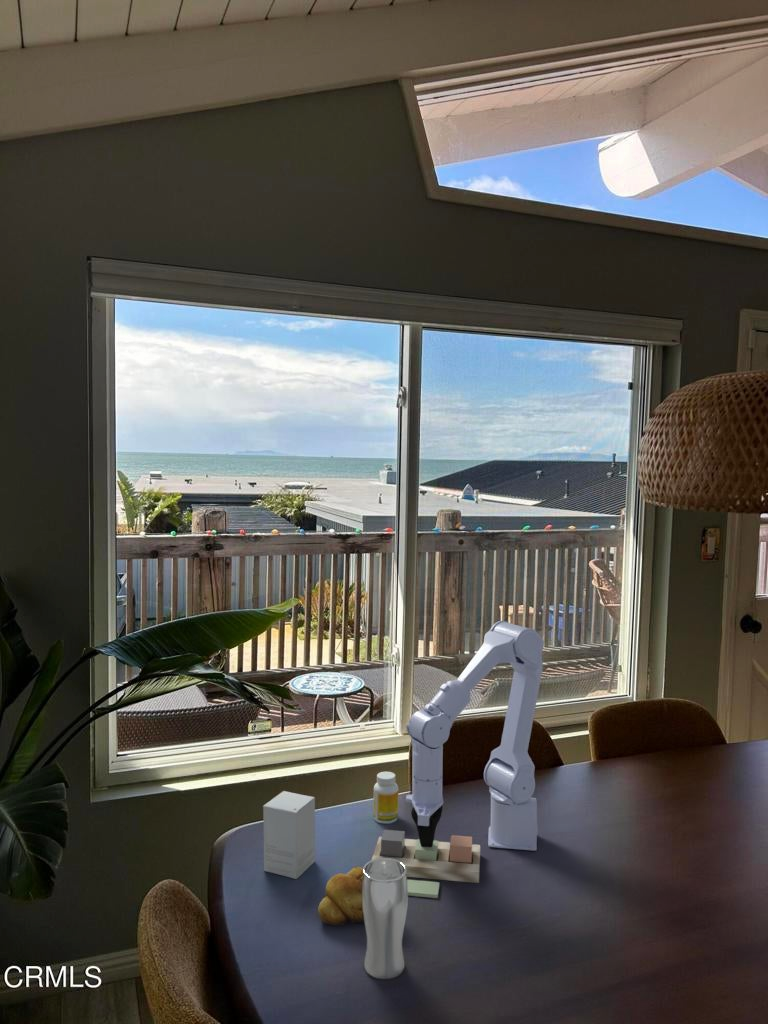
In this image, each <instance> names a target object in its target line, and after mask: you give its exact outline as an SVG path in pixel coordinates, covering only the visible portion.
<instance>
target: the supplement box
mask: <svg viewBox="0 0 768 1024" xmlns="http://www.w3.org/2000/svg"><path fill="white" fill-rule="evenodd" d="M315 801H316V797H314V796H311V795H304V794H300V793H296V792H295V793H294V792H290V791H286V790H283V791H281V792H280V793H279V794H277V795H276V796H274V797H273V798H272V799H270V801H268V802H266V803H265V804H264V805H262V809H263V810H262V811H263V812H262V813H263V818H262V819H263V864H264V865H263V871H264V872H267V873H271V874H276V875H279V876H282V877H286V878H287V877H288V878H290V879H295V880H297V879H298V878H300V877H301V876H302V875H303V873H305V871H307V870H308V869H309V868H310V867H312V865H313V864H314V863H315V862H316V802H315Z"/></svg>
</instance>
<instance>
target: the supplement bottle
mask: <svg viewBox="0 0 768 1024" xmlns="http://www.w3.org/2000/svg"><path fill="white" fill-rule="evenodd" d="M396 780H397V779H396V774H395V772H391V771H381V772H378V773H377V774H376V783H375V784H374V786H373V796H372V797H373V802H372V803H373V805H372V808H373V809H372V811H373V812H372V813H373V820H374V821H375V822H377V823H379V824H387V825H388V824H393V823H395V822H396V821H397V820H398V819H399V785H398V784H397V783H396Z"/></svg>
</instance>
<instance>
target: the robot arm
mask: <svg viewBox="0 0 768 1024" xmlns="http://www.w3.org/2000/svg"><path fill="white" fill-rule="evenodd" d="M483 638H484V639H483V644H482V645H481V646H480V648H479V649H478V650H477V652H476V654H475V655H473V657H472V659H471V660H470V661H469V663H468V664H467V666H466V667H465V668H464V670H463V671H462V672H461V674H460V675H459V676H458V678H457V679H453V680H447V681H446V682H445V683H442V685H440V687H439V691H438V692H437V693H436V694H435V696H434V697H432V699H431V700H430V701H429V702H428V703H426V705H425V706H424V708H423V709H420V710H417V711H416V712H414V713H413V714H412V715H411V717H410V719H409V720H408V724H407V725H406V726H405V727H406V733H407V734H408V735H409V737H410V739H411V746H412V750H411V751H412V756H411V757H412V762H411V763H412V765H411V766H412V769H411V771H412V773H411V774H412V776H411V777H412V779H411V780H412V781H411V785H412V786H411V794H406V796H405V802H406V803H411V804H412V808H411V811H410V812H411V813H410V815H411V817H412V820H413V822H414V823H415V826H416V830H417V833H418V839H419V840H420V844H421V846H422V847H432V845H433V841H434V840H435V834H436V828H437V826H438V824H439V822H440V820H441V817H442V812H443V804H444V797H443V756H444V755H443V754H444V751H443V749H444V746H443V745H444V744H445V743H446V742H447V741H448V739H449V737H450V733H451V732H450V731H451V728H452V727H453V724H454V722H455V720H456V719H457V718H458V717H459V715H461V713H462V712H463V711H464V710H465V708H466V707H467V706H468V705H469V704H470V702H471V701H472V700H471V692H472V691H473V690H474V689H475V687H477V685H478V684H480V683H481V682H482V680H483V679H484V678H485V677H487V675H488V674H489V673H490V672H491V671H492V670H493V669H494V668H495V667H496V666H497V665H499V664H508V663H509V665H510V666H511V668H513V671H514V672H513V676H512V681H511V687H510V691H509V697H508V704H507V707H506V713H505V718H504V724H503V731H502V734H501V739H500V740H501V742H500V745H499V746H498V747H496V748H494V749H493V750H491V752H490V756H489V760H488V761H487V763H486V765H485V767H484V769H483V770H484V771H483V780H484V782H485V784H486V785H487V786H488V789H489V790H488V791H489V793H490V825H489V826H488V834H487V835H488V838H487V839H488V840H487V844H488V845H487V846H488V847H489V848H495V849H496V848H498V849H508V850H510V849H511V850H512V849H513V850H524V851H532V852H533V851H535V852H536V851H537V841H538V840H537V839H538V835H539V826H538V803H537V798H536V797H532V796H533V795H534V793H535V789H536V780H535V770H536V769H535V768H536V766H535V764H534V762H533V761H532V758H531V757H530V755H529V753H528V750H529V745H530V744H529V743H530V739H531V733H532V729H533V723H534V718H535V717H534V716H535V713H536V712H535V711H536V707H537V700H538V695H539V691H540V690H539V689H540V686H541V680H542V674H543V668H544V666H543V665H544V662H543V655H542V654H543V651H544V650H543V649H544V644H545V641H544V639H543V638H542V637H541V635H540V634H539V632H538V631H536V630H535V629H534V628H532V627H525V626H522V625H517V624H513V623H511V622H508V621H506V620H499V621H497V622H494V624H493V625H492V626H491V627H490V628H489V630H488V631H487V632H486V633H485V634H484V637H483Z"/></svg>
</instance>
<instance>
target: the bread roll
mask: <svg viewBox="0 0 768 1024" xmlns="http://www.w3.org/2000/svg"><path fill="white" fill-rule="evenodd" d="M363 867H364V866H363ZM363 867H362V866H361V867H360V866H355V867H353V868H351V870H349V871H348V872H347V873H341V872H340V873H337V874H334V875H333V876H332V877H330V879H329V880H328V881H327V882H326V884H325V885H326V886H325V897H323V898H322V899H321V901H320V902H319V905H318V909H317V912H318V913H317V914H318V916H319V918H320V919H321V921H322V923H325V924H327V925H333V926H341V925H345V924H348V923H349V922H352V923H364V919H363V912H362V879H363Z"/></svg>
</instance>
